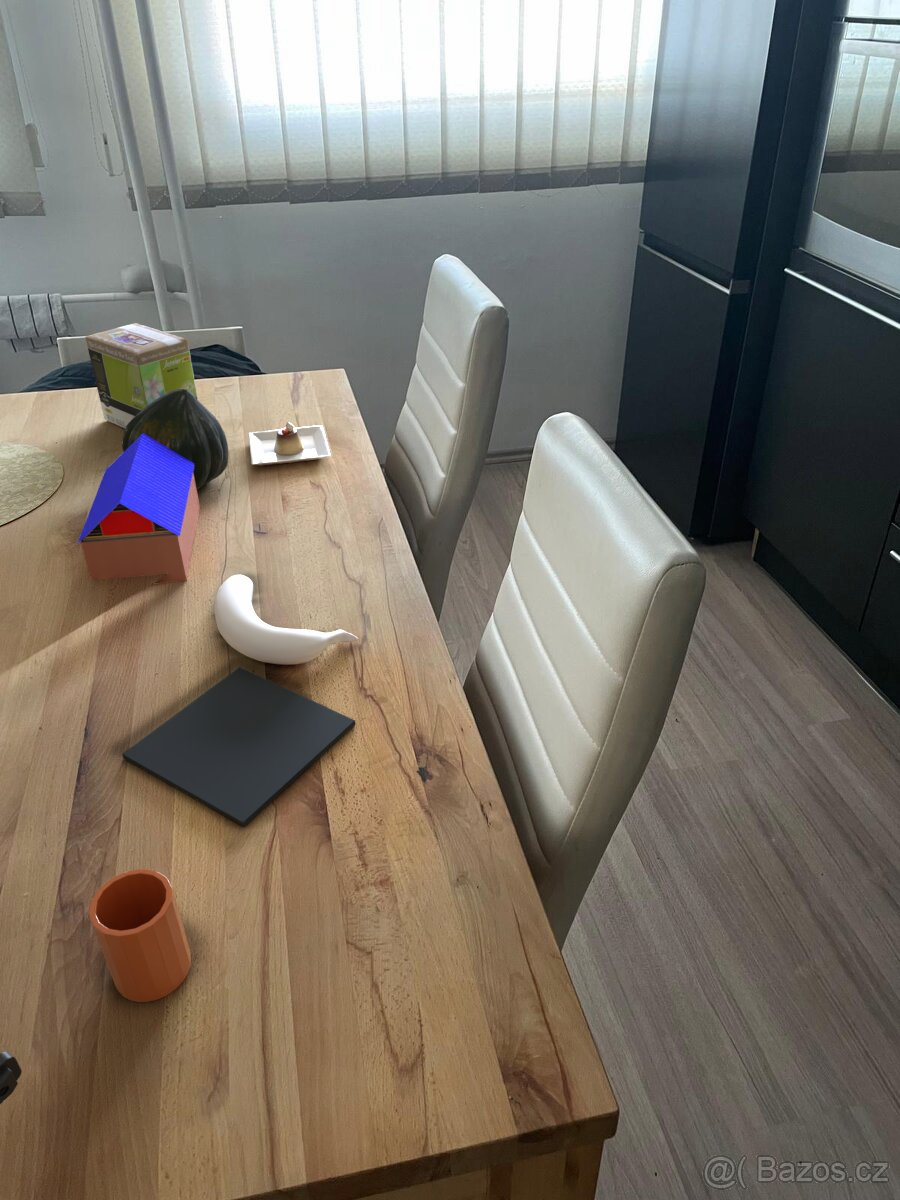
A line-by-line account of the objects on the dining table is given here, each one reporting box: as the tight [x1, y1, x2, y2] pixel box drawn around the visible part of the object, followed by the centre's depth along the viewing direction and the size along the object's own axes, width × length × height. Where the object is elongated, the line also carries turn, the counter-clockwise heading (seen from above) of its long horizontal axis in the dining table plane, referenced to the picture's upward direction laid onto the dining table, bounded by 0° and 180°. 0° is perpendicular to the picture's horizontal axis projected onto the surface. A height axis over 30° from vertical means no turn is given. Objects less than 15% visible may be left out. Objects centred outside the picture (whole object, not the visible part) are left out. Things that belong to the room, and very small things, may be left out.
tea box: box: [85, 322, 199, 429], centre depth 151 cm, size 15×10×15 cm
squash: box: [121, 388, 230, 490], centre depth 133 cm, size 14×15×15 cm
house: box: [76, 433, 201, 585], centre depth 119 cm, size 12×20×12 cm, turn 8°
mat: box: [122, 666, 356, 828], centre depth 90 cm, size 16×16×1 cm
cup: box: [88, 868, 192, 1003], centre depth 68 cm, size 6×6×8 cm
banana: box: [214, 574, 360, 666], centre depth 106 cm, size 5×19×15 cm
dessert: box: [247, 421, 331, 466], centre depth 144 cm, size 12×12×5 cm
